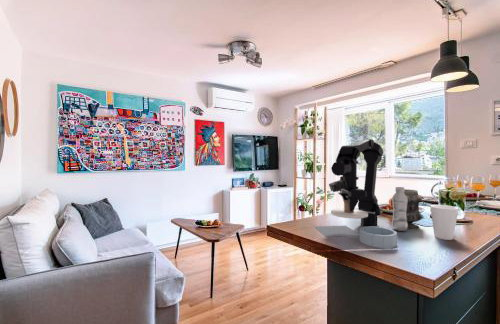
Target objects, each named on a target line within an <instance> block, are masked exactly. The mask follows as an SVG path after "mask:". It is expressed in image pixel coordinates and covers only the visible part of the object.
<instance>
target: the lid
mask: <svg viewBox="0 0 500 324" xmlns="http://www.w3.org/2000/svg"><path fill="white" fill-rule="evenodd" d="M330 215H332V216H335V217H338V218H343V219H361V218H366V217H368V213H367V212H365V211H362V210H359V209H355V208H354V210H353V212H351V211H350V208H349V200H344V201H343V208H333V209H331V210H330Z"/></svg>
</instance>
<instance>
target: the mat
mask: <svg viewBox="0 0 500 324" xmlns="http://www.w3.org/2000/svg"><path fill="white" fill-rule="evenodd" d="M313 227H314V228H315V229H316V230H317V231H319V232H320V234H321V235H323V236H324V237H325V238H330V237H331V238H332V237H334V238H335V237H338V238H339V237H360V232H359V233H358V232H357V231H356V230H354V229H352V228H351V227H349V226H347V225H323V226H322V225H319V226H318V225H315V226H313Z"/></svg>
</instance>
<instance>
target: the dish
mask: <svg viewBox="0 0 500 324" xmlns="http://www.w3.org/2000/svg"><path fill="white" fill-rule="evenodd" d="M359 234H360V236H359V242H360V243H362V244H364V245H366V246H370V247H373V248H375V249H377V250H394V249H395V248H396V247H397V246H398V232H397V230H394V229H391V228H388V227H383V226H379V227H375V226H361V227H359Z"/></svg>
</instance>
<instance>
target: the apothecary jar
mask: <svg viewBox="0 0 500 324" xmlns="http://www.w3.org/2000/svg"><path fill="white" fill-rule="evenodd" d="M404 191H405V192H404V194H405V195H406V196H407V198H408V203H407V211H406V216H407V223H408V228H407V230H418V229H420V226H419V225H418V224H415V222H419V221H420V220H422V219H423V214H422V213H421V211H420V207H419V204H420V202H422V200H423V197H422V196H421V195H419V192H418V190H416V189H409V188H408V189H405V190H404Z"/></svg>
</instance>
